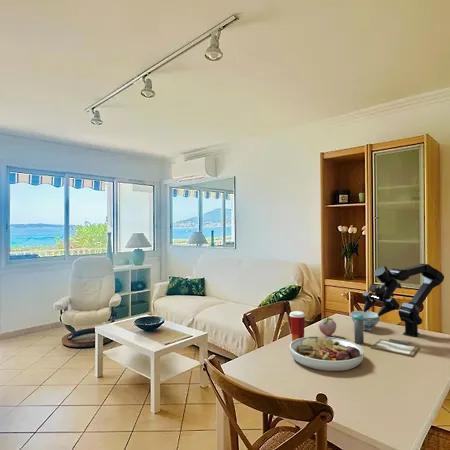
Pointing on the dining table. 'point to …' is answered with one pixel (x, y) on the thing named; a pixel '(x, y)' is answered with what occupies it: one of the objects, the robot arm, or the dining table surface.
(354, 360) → the bowl
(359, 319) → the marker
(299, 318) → the paper cup
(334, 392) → the dining table surface
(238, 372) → the dining table surface
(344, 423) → the dining table surface
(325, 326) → the decorative fruit
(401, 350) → the clipboard
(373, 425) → the dining table surface
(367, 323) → the chinaware
